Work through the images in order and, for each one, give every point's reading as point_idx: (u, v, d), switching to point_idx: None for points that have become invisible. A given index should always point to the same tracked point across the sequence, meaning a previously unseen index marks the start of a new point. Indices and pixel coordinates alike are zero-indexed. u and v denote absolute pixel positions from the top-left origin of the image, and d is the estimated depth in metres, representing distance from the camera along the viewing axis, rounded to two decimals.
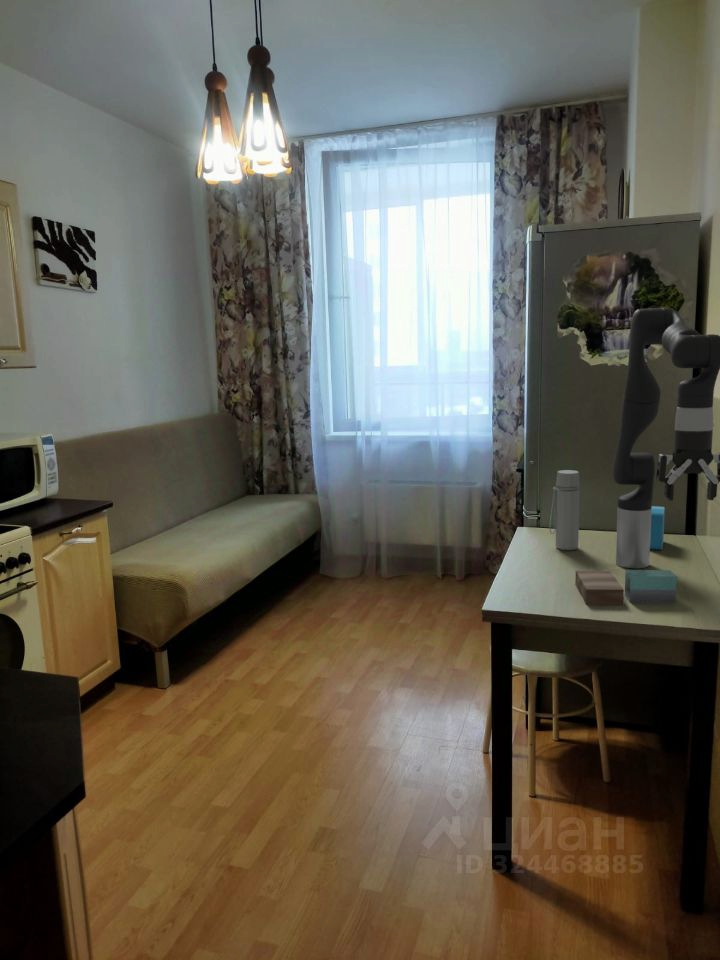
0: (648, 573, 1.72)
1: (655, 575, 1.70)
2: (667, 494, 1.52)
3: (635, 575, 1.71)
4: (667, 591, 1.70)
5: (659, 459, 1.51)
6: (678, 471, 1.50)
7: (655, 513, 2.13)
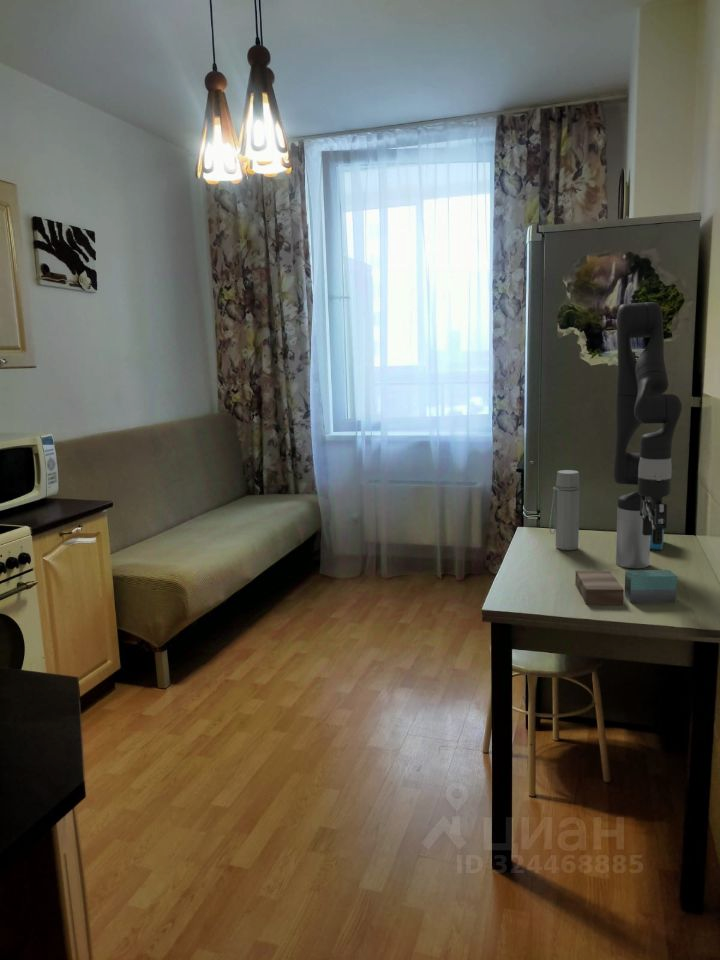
0: (648, 573, 1.72)
1: (655, 575, 1.70)
2: None
3: (635, 575, 1.71)
4: (667, 591, 1.70)
5: (661, 509, 1.62)
6: None
7: None
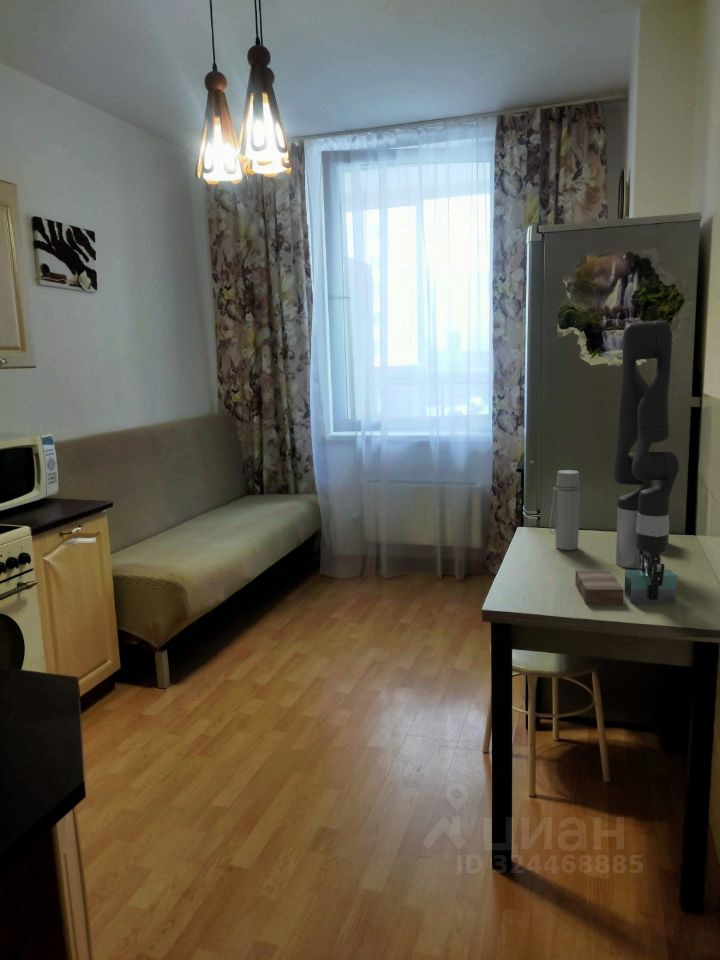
0: None
1: None
2: None
3: (636, 575, 1.71)
4: (667, 590, 1.70)
5: (658, 569, 1.65)
6: None
7: None
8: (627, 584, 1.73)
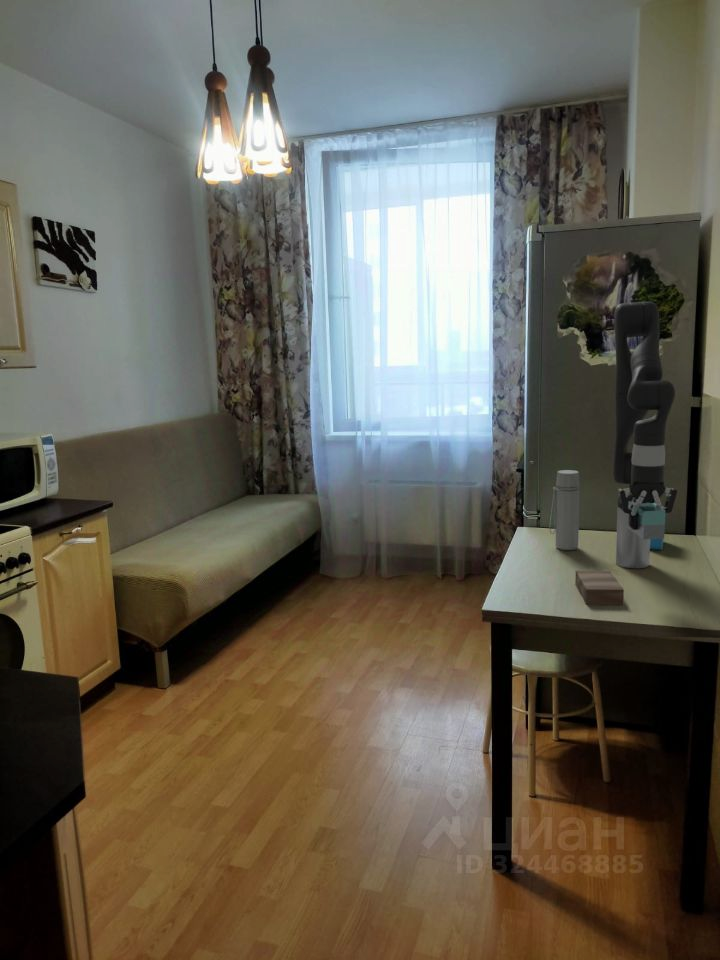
0: (649, 506, 1.69)
1: (652, 505, 1.70)
2: None
3: (660, 509, 1.66)
4: None
5: None
6: None
7: None
8: (653, 523, 1.65)
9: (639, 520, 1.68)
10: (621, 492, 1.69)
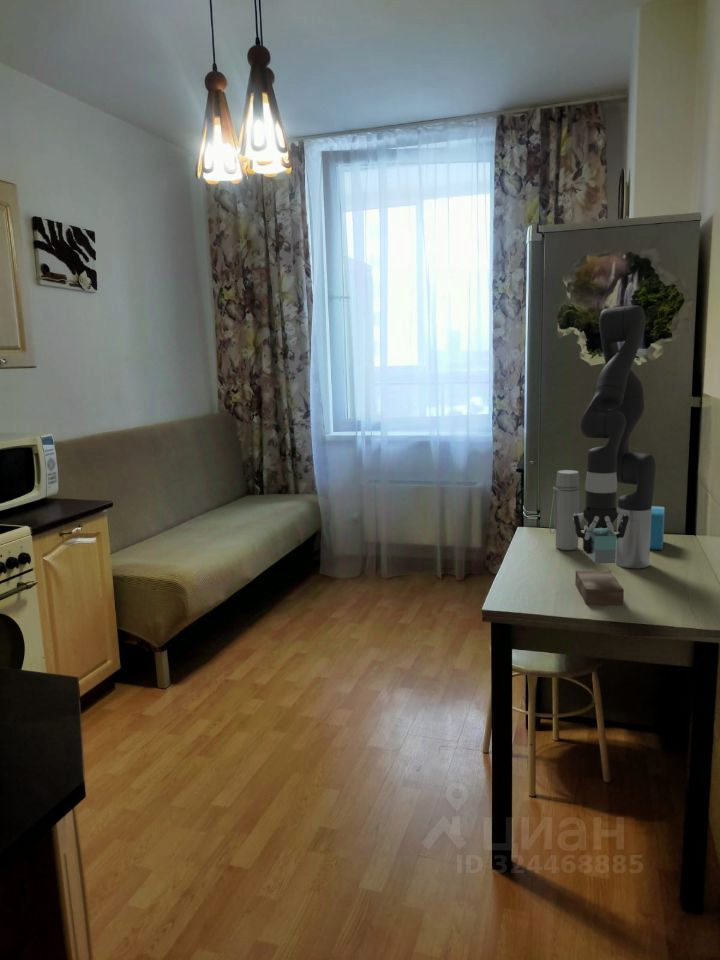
0: (602, 531, 1.74)
1: (605, 529, 1.75)
2: None
3: (611, 534, 1.71)
4: None
5: None
6: None
7: (655, 513, 2.13)
8: (604, 548, 1.70)
9: (592, 544, 1.73)
10: (575, 517, 1.74)
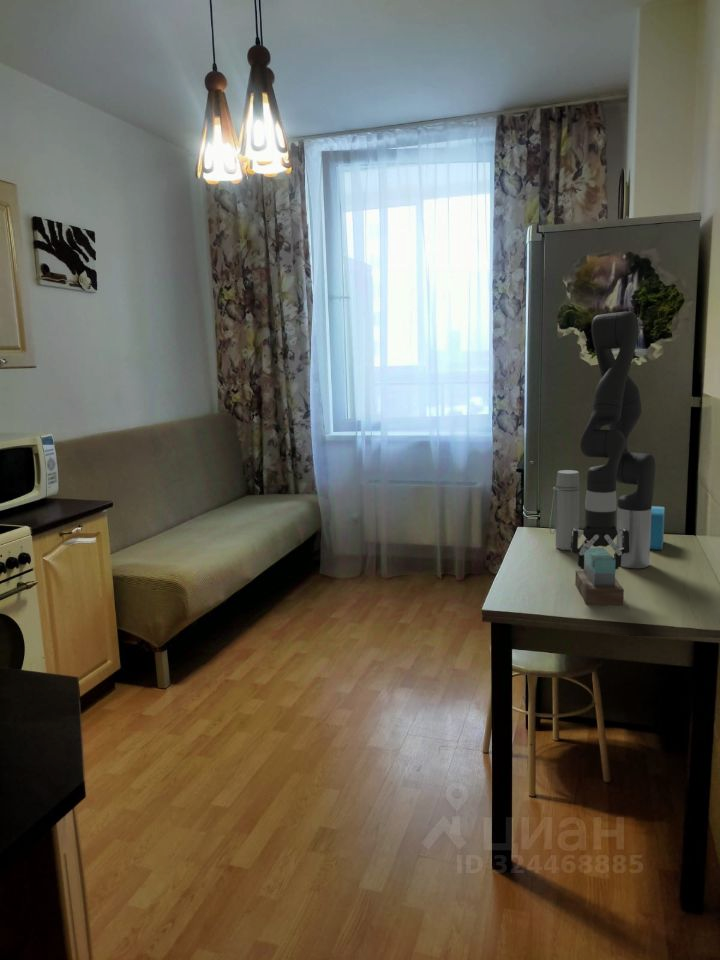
0: (601, 554, 1.75)
1: (605, 553, 1.76)
2: None
3: (611, 558, 1.72)
4: None
5: None
6: None
7: (655, 513, 2.13)
8: (603, 572, 1.71)
9: (591, 568, 1.74)
10: (574, 532, 1.75)
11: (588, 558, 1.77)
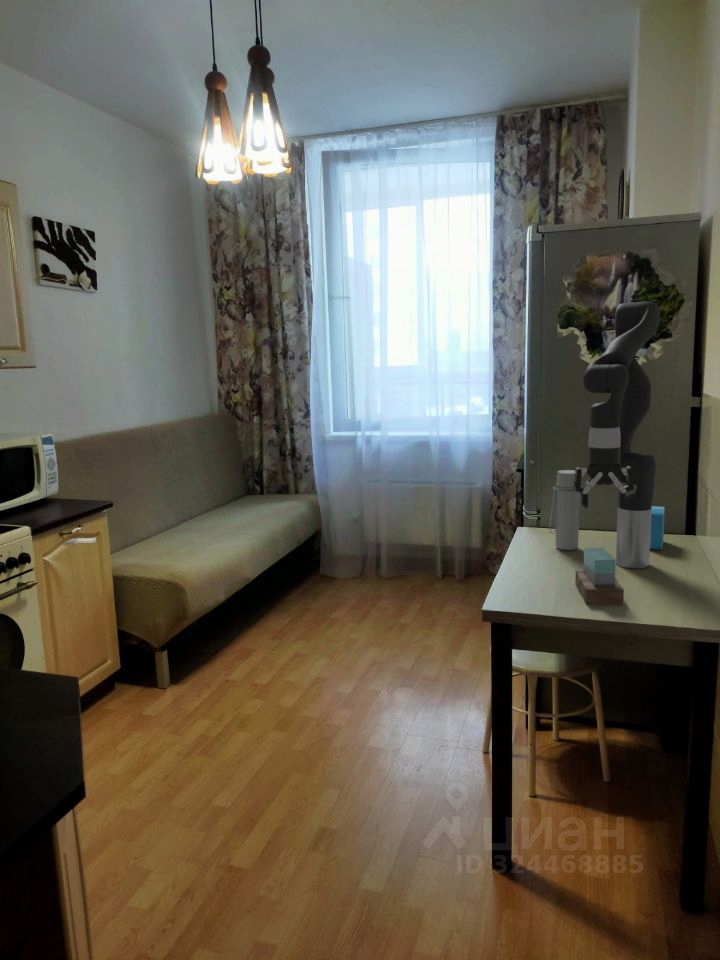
0: (601, 554, 1.75)
1: (605, 553, 1.76)
2: None
3: (611, 558, 1.72)
4: None
5: None
6: None
7: (655, 513, 2.13)
8: (603, 572, 1.71)
9: (591, 568, 1.74)
10: (578, 470, 1.72)
11: (588, 558, 1.77)
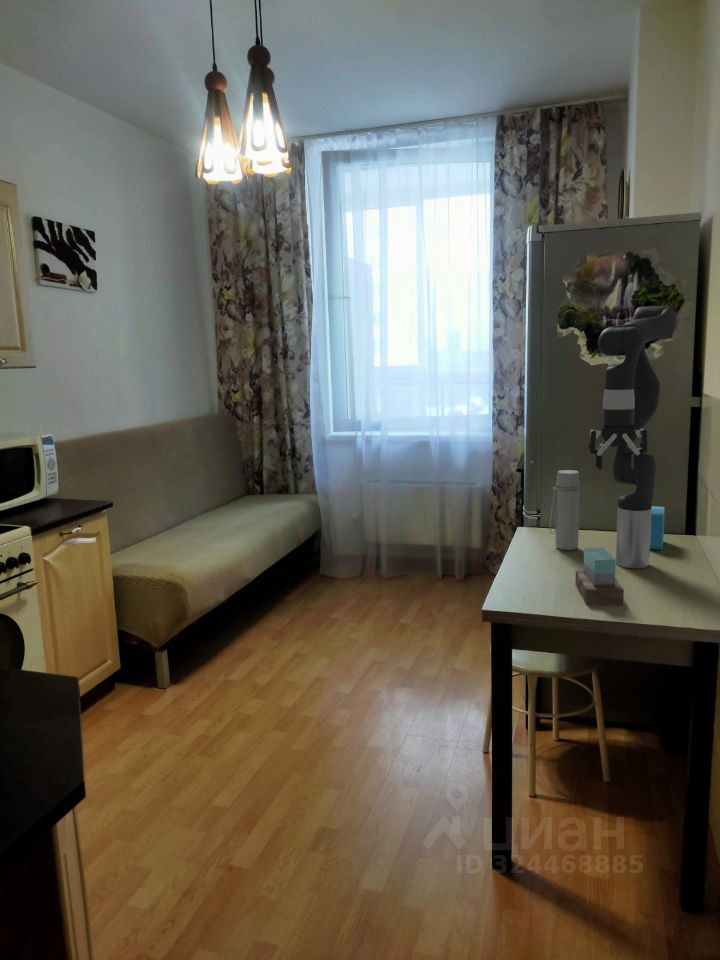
0: (601, 554, 1.75)
1: (605, 553, 1.76)
2: None
3: (611, 558, 1.72)
4: None
5: None
6: None
7: (655, 513, 2.13)
8: (603, 572, 1.71)
9: (591, 568, 1.74)
10: (592, 432, 1.75)
11: (588, 558, 1.77)
